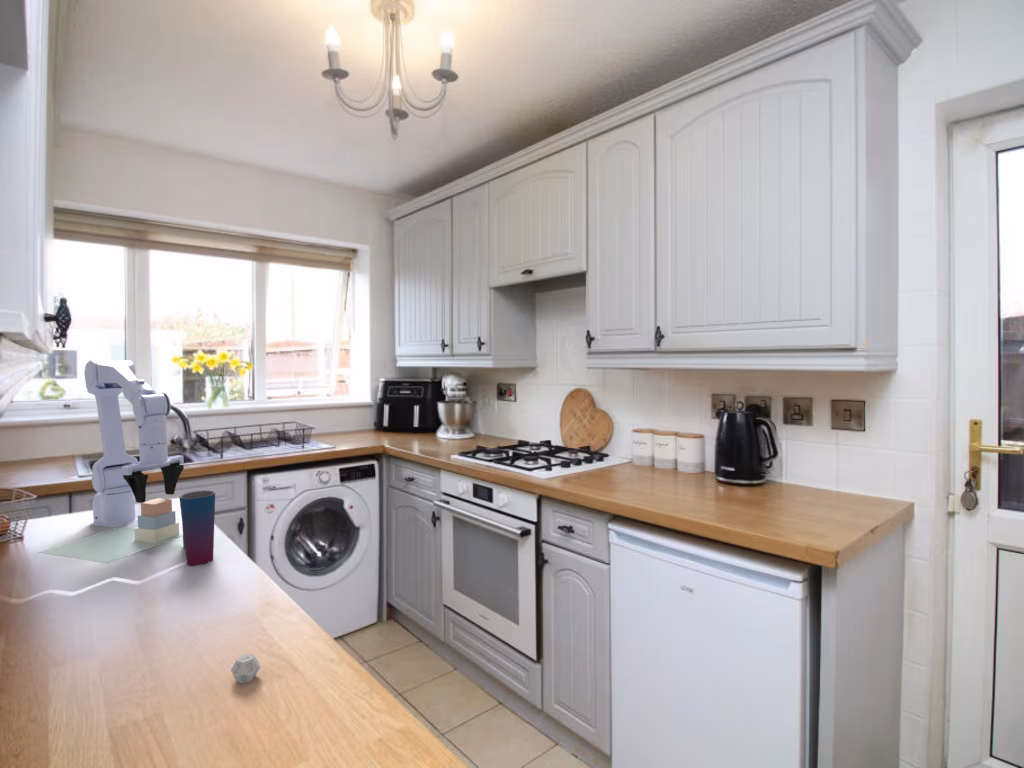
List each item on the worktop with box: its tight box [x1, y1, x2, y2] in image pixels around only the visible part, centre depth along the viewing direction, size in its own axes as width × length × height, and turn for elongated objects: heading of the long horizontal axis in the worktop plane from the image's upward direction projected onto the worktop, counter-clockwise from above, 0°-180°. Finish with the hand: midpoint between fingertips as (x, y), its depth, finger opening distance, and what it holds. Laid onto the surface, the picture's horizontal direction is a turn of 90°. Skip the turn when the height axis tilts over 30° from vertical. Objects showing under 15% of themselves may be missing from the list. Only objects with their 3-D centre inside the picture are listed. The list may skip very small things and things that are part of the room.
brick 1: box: [140, 497, 173, 517], centre depth 132 cm, size 4×4×3 cm
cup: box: [179, 489, 216, 567], centre depth 118 cm, size 7×7×15 cm
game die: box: [230, 653, 261, 684], centre depth 75 cm, size 4×4×3 cm
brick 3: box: [133, 521, 180, 543], centre depth 132 cm, size 6×6×3 cm
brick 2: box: [137, 510, 177, 530], centre depth 132 cm, size 6×6×3 cm
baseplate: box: [39, 525, 183, 564], centre depth 128 cm, size 22×19×1 cm
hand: (155, 498), depth 131 cm, fingers open, 7 cm apart
